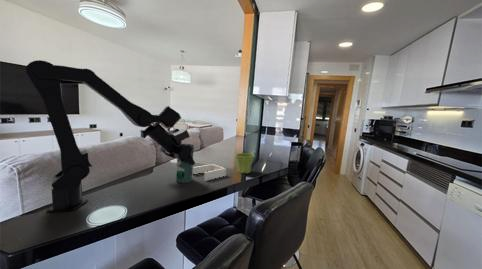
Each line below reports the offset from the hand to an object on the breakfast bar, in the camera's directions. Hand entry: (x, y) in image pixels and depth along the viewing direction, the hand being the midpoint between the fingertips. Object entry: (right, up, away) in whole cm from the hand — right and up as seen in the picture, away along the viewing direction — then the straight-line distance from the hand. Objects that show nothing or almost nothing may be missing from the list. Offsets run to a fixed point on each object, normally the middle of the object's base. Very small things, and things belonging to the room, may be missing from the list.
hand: (189, 162), depth 78 cm
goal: (+7, -7, +7) cm, 12 cm away
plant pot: (+23, -7, +15) cm, 29 cm away
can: (-2, -8, 0) cm, 8 cm away
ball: (+11, -7, +7) cm, 15 cm away
